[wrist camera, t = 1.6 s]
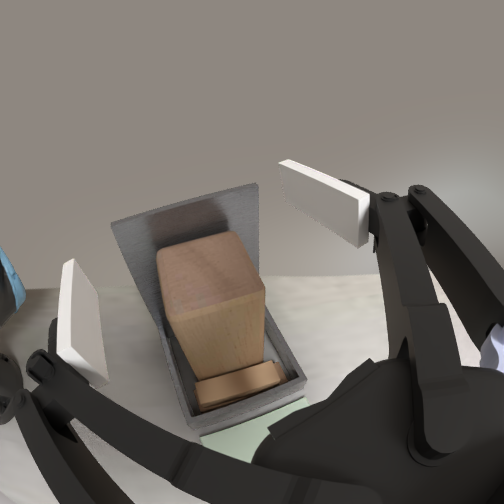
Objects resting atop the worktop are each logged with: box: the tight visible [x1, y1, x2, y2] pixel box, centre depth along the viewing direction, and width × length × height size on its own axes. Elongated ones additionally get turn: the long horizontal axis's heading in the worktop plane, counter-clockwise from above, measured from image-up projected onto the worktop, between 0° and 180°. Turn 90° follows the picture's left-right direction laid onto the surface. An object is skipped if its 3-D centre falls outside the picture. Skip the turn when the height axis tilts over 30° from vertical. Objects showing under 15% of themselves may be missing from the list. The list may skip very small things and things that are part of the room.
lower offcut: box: [193, 362, 288, 414], centre depth 38 cm, size 13×4×2 cm, turn 111°
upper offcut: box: [195, 360, 280, 408], centre depth 36 cm, size 11×3×2 cm, turn 109°
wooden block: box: [156, 231, 265, 382], centre depth 36 cm, size 10×10×20 cm
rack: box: [111, 183, 307, 430], centre depth 33 cm, size 17×17×24 cm
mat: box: [200, 397, 310, 463], centre depth 32 cm, size 16×10×1 cm, turn 113°
